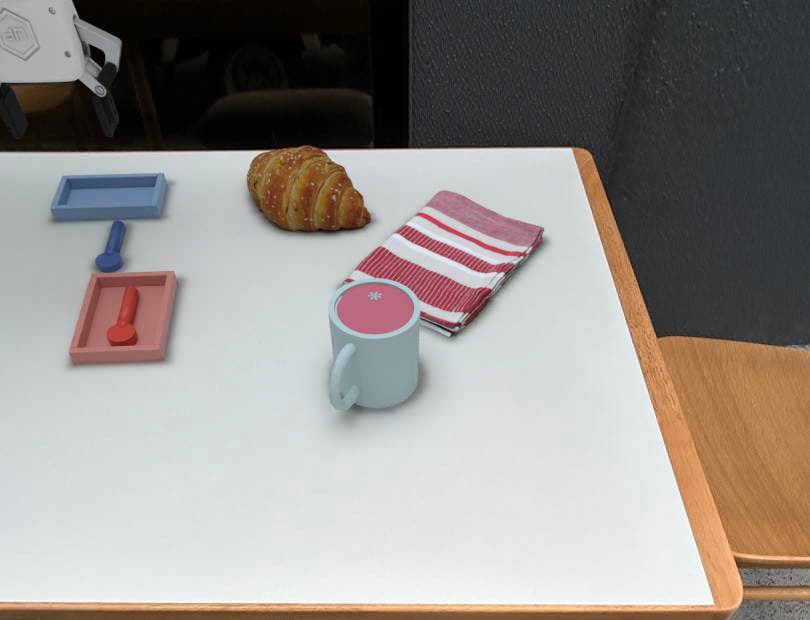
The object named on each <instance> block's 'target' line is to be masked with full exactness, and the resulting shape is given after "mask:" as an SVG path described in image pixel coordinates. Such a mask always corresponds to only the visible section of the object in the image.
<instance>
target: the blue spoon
mask: <svg viewBox="0 0 810 620" xmlns="http://www.w3.org/2000/svg"><path fill="white" fill-rule="evenodd" d="M125 231H126V225H125V223H124V222H123V221H122V220H120V219H115V220H114V221H113V222H112V224H111V228H110V231H109V235H108V239H107V242H106V245H105V249H104V252H102V253H100V254H99V255H97V256H96V258H95V259H94V263H95V265H96V267H97V269H98V271H100V273H116V272H117V271H119V270H121V268H123V266H124V261H123V258H122V255H121V254H120V250H121V247H122V243H123V239H124V236H125Z"/></svg>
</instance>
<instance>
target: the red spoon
mask: <svg viewBox="0 0 810 620" xmlns="http://www.w3.org/2000/svg"><path fill="white" fill-rule="evenodd" d="M138 296H139V291H138V289H137V288H136V287H134V286H128V287H126V289H125V291H124V296H123V300H122V304H121V308H120V312H119V316H118V320H117V324H115V325H113V326H112V327H110V328H109V329H108V331H107V333H106V336H107V338H108V340H109V342H110V345H111V346H134V345H135V344H136V343H137V341H138V335H137V333H136V331H135V328H134V327H133V326H132V322H133V318H134V314H135V309H136V305H137V300H138Z"/></svg>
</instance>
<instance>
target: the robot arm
mask: <svg viewBox="0 0 810 620" xmlns="http://www.w3.org/2000/svg"><path fill="white" fill-rule="evenodd" d="M90 45H91V46H93V47H95V48H97V49H99V50H101V51H103V53H104V56H105V59H104V64H103V66H102V67H101V66H100V65H99V64H98V63H97V62H96V61H94V60H93V58H91V49H90ZM122 49H123V42H122V40H121V39H120V38H119V37H117V36H115V35H112V34H111V33H109V32H107V31H105V30H103V29H101V28H98V27H97V26H94V25H93V24H91V23H88V22H87V21H84V20H83V19H80V17H79V14H78V12H77V10H76V7H75V5H74V2H73V0H0V117H1V120H2V122H3V123H4V125H5V126H6V127H9V130H10V132H11V134H12V136H13V138H14V139H15V140H21V139H22V138H23V137H24V135H25V132H26V131H27V128H28V127H29V122H28V120H27V118H26V115H25V113H24V111H23V108H22V107H21V104H20V101H19V100H18V98H17V96H16V93H15V91H14V89H13V87H11V85H10V84H13V83H14V84H16V83H17V84H19V83H20V84H21V83H22V84H23V83H29V84H30V83H65V82H66V83H67V82H75V81H77V80H79V81H80V82H82V83H83V84H84V85H85V86H86V87H87V88H89V90H91V91H92V92H93V94H92V97H91V101H92V105H93V107H94V110H95V113H96V115H97V118H98V121H99V124H100V126H101V129H102V132H103V134H104V136H106V137H107V138H113V137H114V134H115V130H116V128H117V125H119V123H120V116H119V114H118V110H117V107H116V104H115V101H114V99H113V95H112V92H111V88H110V87H111V85H112V84H113V82H114V80H115V78H116V77H117V75H118V71H119V69H120V63H121V62H120V61H121V56H122ZM6 83H7V84H6ZM9 83H10V84H9Z"/></svg>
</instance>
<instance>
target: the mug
mask: <svg viewBox="0 0 810 620" xmlns="http://www.w3.org/2000/svg"><path fill="white" fill-rule="evenodd" d="M327 313H328V321H329V330H330V340H331V349H332V359H333V366H332V369H331V373H330V377H329V381H328V382H329V383H328V398H329V401H330V404H331V406H332V407H333V408H334V409H335V410H337V411H339V412H342V411H343V412H344V411H347V410H348V409H350V408H351V407H352V406H353V405H357V406H360V407H363V408H367V409H385V408H390V407H393V406H394V407H395V406H397V405H399V404H402V403H403V402H405V401H406V400H407V399H409V398H410V397H411V396H412V395H413V393H414V392H415V391H416V390H417V386H418V383H419V359H420V358H419V356H420V328H421V327H420V326H421V324H420V303H419V300H418V298H417V296H416V295H415V294H414V293H413V291H411V290H410V289H409V288H408V287H406V286H404V285H403V284H401V283H398V282H396V281H392V280H388V279H382V278H367V279H361V280H356V281H353V282H350V283H348V284H346V285H344V286H342V285H341V287H340V288H338V289H337V290H336V291H335V292H334V293H333V294H332V295H331V297H330V298H329V301H328V305H327ZM342 397H343V398H342Z"/></svg>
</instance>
